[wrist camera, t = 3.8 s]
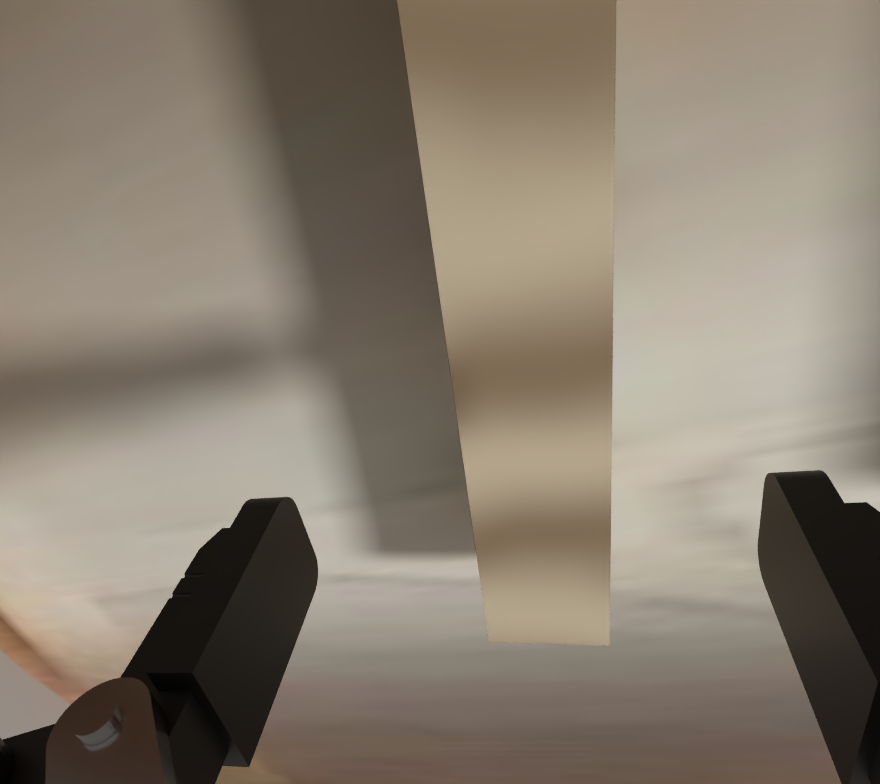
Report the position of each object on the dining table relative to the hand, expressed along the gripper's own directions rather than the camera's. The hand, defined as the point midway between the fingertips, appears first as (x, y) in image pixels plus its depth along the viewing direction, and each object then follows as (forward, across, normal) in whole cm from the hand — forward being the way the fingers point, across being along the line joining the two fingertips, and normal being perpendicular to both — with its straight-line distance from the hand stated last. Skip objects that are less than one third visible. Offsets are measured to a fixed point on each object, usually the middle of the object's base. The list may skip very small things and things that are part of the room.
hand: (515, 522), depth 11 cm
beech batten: (+11, 0, 0) cm, 11 cm away
